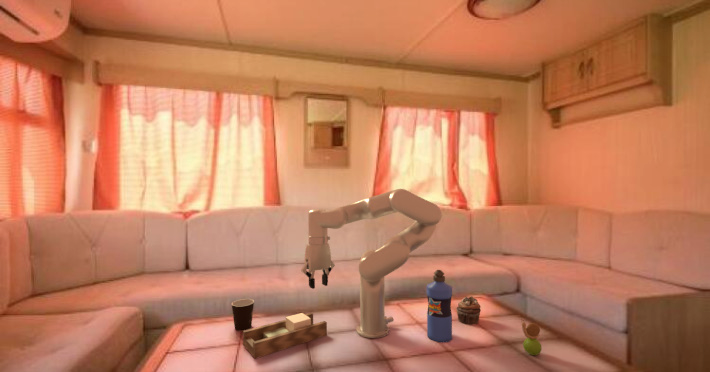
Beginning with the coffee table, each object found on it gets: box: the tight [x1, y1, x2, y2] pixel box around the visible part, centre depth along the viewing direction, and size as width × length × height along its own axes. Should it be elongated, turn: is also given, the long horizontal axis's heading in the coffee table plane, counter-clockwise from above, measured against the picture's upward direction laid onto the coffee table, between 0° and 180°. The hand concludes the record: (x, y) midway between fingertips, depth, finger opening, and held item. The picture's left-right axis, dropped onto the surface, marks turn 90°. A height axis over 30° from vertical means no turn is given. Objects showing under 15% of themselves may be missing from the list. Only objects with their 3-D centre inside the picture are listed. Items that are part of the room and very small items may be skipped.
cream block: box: [285, 312, 311, 331], centre depth 126 cm, size 7×7×4 cm
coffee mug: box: [231, 298, 255, 332], centre depth 136 cm, size 12×9×10 cm
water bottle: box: [426, 269, 453, 343], centre depth 125 cm, size 9×9×25 cm
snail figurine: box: [520, 318, 543, 356], centre depth 111 cm, size 5×6×12 cm
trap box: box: [242, 312, 328, 359], centre depth 123 cm, size 28×12×5 cm, turn 127°
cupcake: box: [455, 296, 481, 326], centre depth 139 cm, size 10×10×10 cm
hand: (318, 286), depth 131 cm, fingers open, 5 cm apart
